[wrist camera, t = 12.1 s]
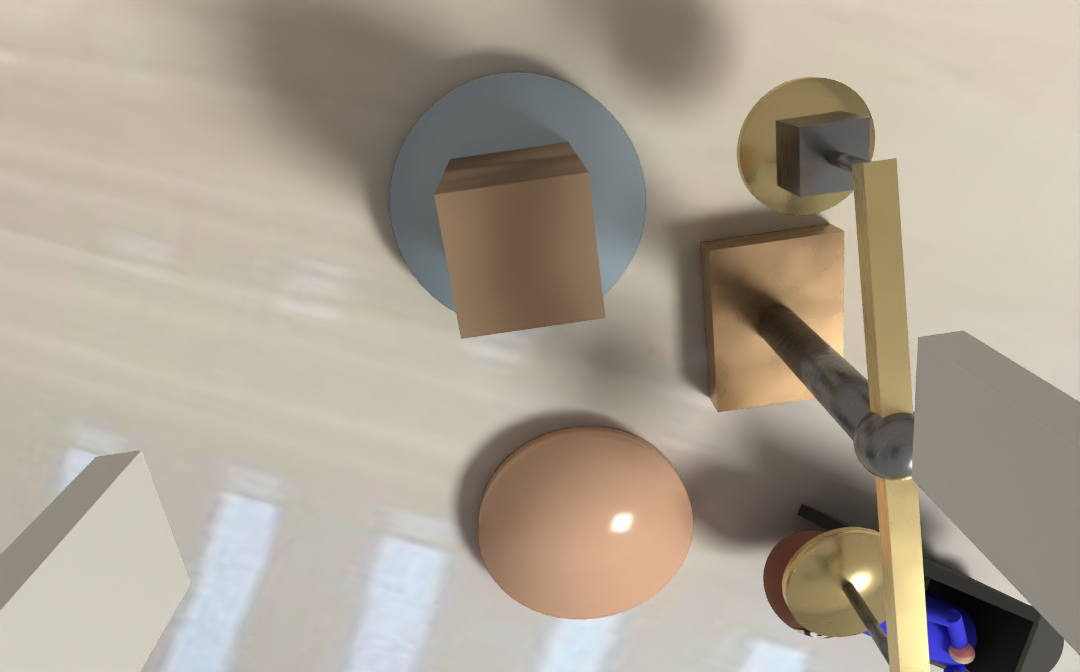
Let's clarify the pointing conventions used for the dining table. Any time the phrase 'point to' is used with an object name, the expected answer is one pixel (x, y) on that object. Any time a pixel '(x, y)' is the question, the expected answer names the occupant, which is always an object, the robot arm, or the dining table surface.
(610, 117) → the blue gray round dish
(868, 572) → the balance
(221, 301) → the dining table surface
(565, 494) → the peach glossy dome
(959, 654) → the character figurine
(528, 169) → the block
